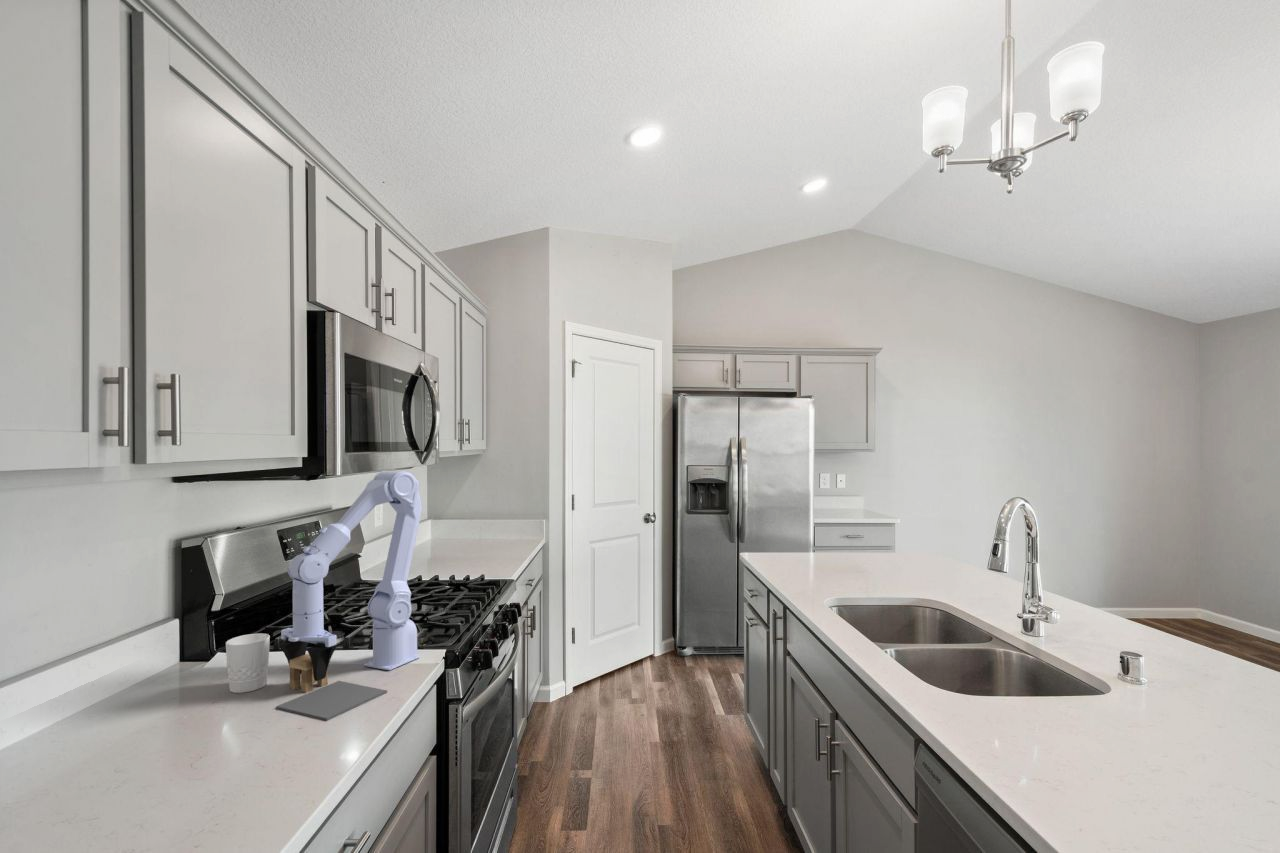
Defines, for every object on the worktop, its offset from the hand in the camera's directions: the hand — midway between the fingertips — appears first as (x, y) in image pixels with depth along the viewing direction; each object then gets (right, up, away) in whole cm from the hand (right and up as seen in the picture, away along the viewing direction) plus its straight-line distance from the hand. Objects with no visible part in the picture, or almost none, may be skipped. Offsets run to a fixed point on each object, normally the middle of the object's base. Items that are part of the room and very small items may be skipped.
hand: (308, 676), depth 132 cm
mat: (+9, -2, -7) cm, 12 cm away
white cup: (-13, -3, +1) cm, 13 cm away
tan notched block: (0, -2, 0) cm, 2 cm away
